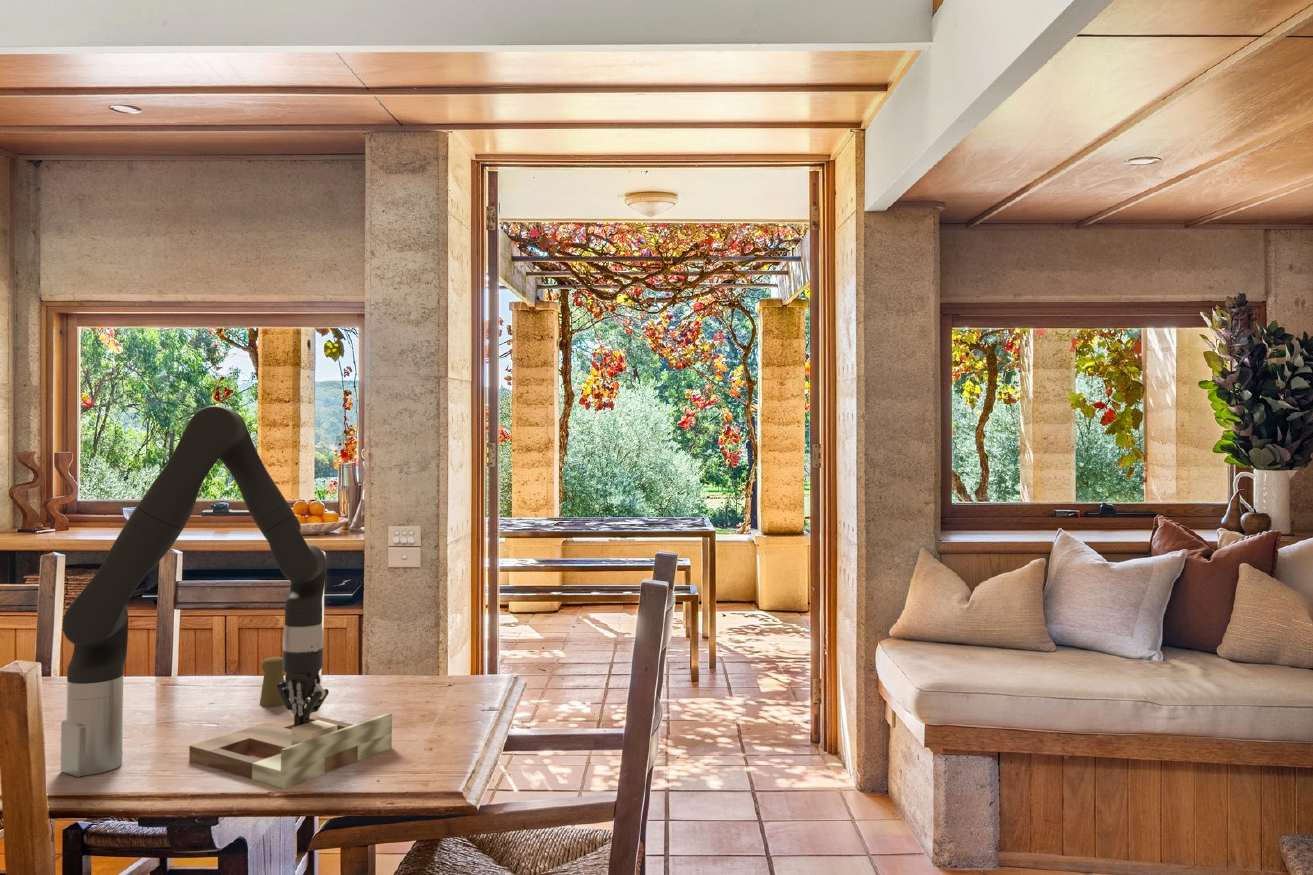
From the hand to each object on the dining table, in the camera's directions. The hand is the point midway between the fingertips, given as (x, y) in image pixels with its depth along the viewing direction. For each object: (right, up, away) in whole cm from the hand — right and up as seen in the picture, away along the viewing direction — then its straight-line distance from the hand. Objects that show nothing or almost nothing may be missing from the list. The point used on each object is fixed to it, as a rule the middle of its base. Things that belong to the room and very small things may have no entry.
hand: (301, 732), depth 181 cm
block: (+4, -2, -3) cm, 5 cm away
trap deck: (-2, -5, +1) cm, 5 cm away
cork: (-21, -5, +36) cm, 42 cm away
